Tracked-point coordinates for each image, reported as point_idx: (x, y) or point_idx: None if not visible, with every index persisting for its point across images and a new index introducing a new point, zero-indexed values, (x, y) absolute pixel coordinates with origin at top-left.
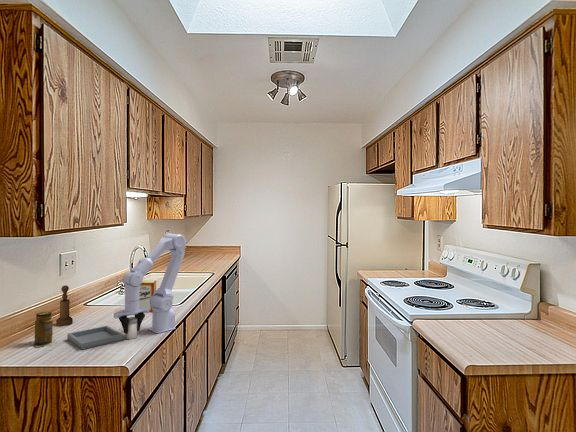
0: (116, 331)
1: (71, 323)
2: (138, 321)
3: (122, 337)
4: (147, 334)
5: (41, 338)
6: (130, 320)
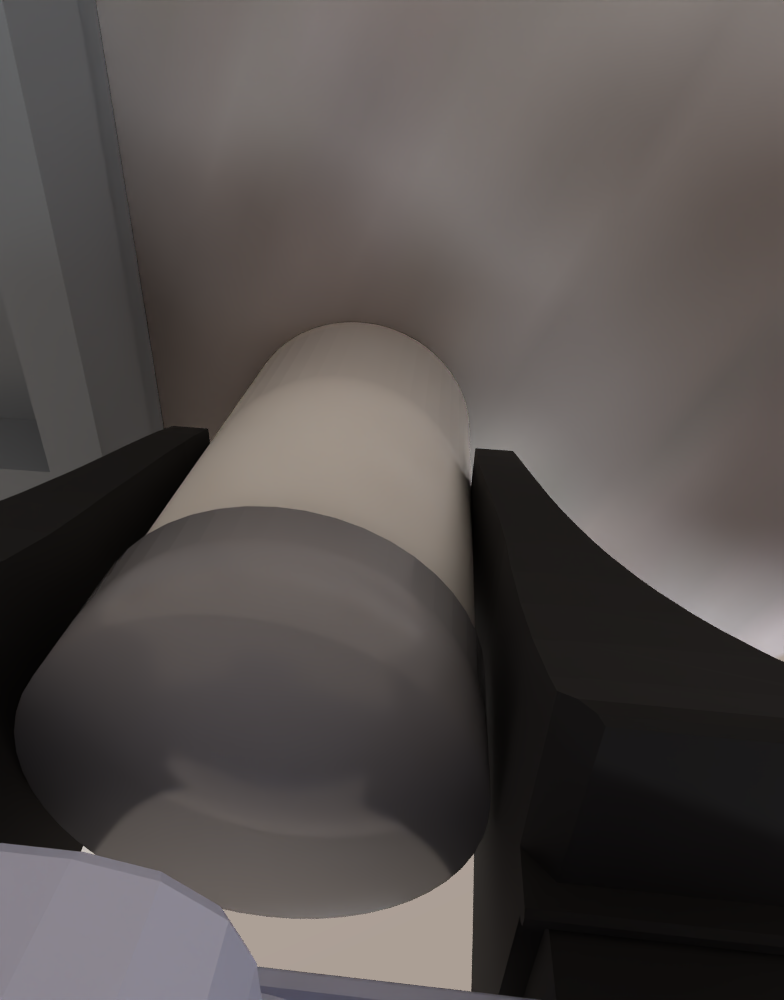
0: (14, 197)
1: None
2: None
3: None
4: (690, 491)
5: None
6: (145, 864)
